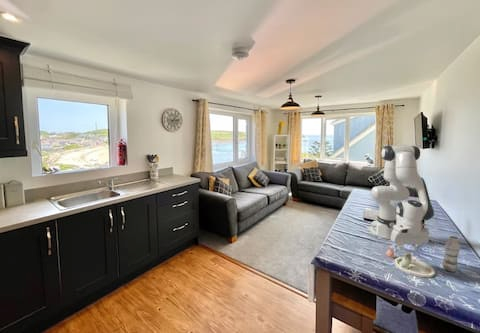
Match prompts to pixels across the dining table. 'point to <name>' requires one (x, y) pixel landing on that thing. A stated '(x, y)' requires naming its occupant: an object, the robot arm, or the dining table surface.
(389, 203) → the robot arm
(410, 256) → the bead
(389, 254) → the bead
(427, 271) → the tray
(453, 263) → the silver metal bottle
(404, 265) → the bead
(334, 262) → the dining table surface
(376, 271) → the dining table surface
